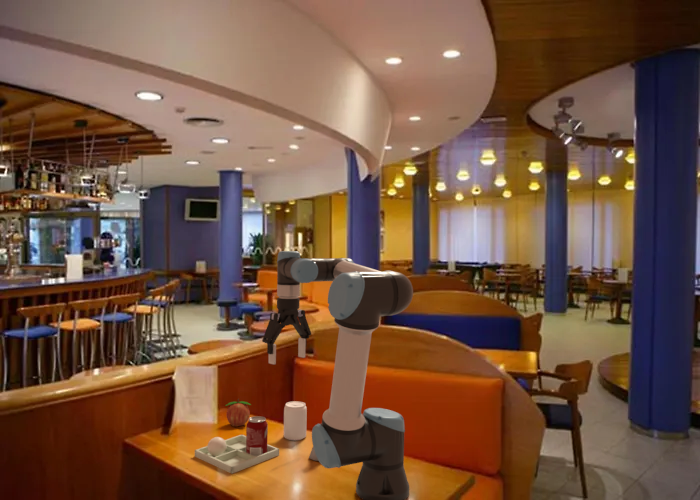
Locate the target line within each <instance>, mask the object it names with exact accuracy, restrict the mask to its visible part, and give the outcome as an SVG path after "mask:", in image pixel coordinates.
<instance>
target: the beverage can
mask: <svg viewBox="0 0 700 500" xmlns="http://www.w3.org/2000/svg"><path fill="white" fill-rule="evenodd" d="M307 408H308V407H307V406H306V402H303V401H297V400H296V401H295V400H294V401H293V400H292V401H288V402H286V403H285V405H284V408H283V437H284V438H285V440H289V441H301V440H302V439H304V438H306V437H307V418H308V417H307V412H308V411H307V410H308V409H307Z"/></svg>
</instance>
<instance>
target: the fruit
mask: <svg viewBox="0 0 700 500" xmlns="http://www.w3.org/2000/svg"><path fill="white" fill-rule="evenodd" d="M248 405H249V406H252V404H251V403H249V402H248V401H243V400H241V401H240V398H238V399H237V401H230V402H228V403H227V404H225V406H226V407H227V406H228V408H227V411H226V418H227V422H228V423H229V424H230V425H231V426H233V427H241V426H244V425H245V424H247V423H248V421H249V418H250V414H251V413H250V408H249V406H248Z"/></svg>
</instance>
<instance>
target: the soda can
mask: <svg viewBox="0 0 700 500" xmlns="http://www.w3.org/2000/svg"><path fill="white" fill-rule="evenodd" d="M245 426H246V430H245V431H246V435H245V436H246V453H248V454H251V455H253V456H259V455H262V454H264V453H267V444H268V427H269V425H268V422H267V419H266V417H265V416H260V415H259V416H258V415H256V416H255V415H254V416H251V417H249V419H248V421H247V422H246V425H245Z"/></svg>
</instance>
